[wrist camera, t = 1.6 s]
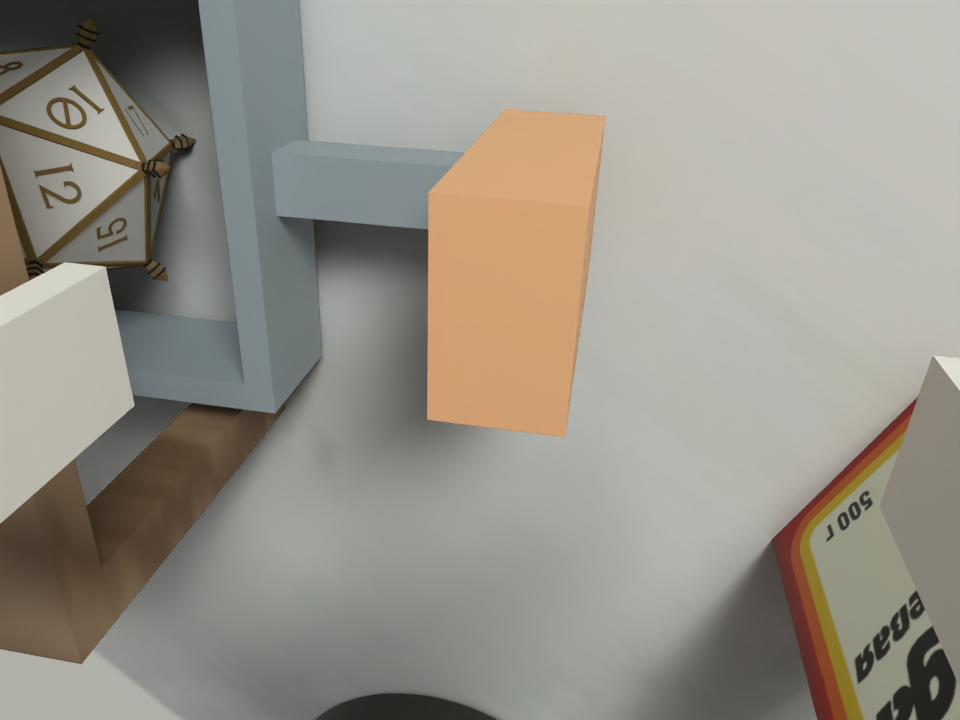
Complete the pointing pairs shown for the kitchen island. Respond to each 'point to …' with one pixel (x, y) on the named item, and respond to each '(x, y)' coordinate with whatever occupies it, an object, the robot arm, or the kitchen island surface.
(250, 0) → the grey tray orange handle
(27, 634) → the small wooden table
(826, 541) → the baking soda box
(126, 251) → the game die
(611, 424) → the kitchen island surface
